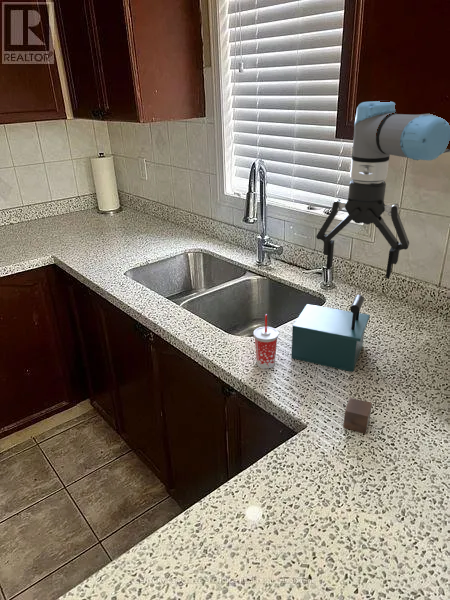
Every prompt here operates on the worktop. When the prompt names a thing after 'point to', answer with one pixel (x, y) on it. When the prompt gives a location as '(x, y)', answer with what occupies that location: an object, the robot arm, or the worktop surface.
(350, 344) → the teal hinged box
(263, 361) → the beverage cup
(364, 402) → the block
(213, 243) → the worktop surface
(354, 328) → the lid
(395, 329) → the worktop surface
